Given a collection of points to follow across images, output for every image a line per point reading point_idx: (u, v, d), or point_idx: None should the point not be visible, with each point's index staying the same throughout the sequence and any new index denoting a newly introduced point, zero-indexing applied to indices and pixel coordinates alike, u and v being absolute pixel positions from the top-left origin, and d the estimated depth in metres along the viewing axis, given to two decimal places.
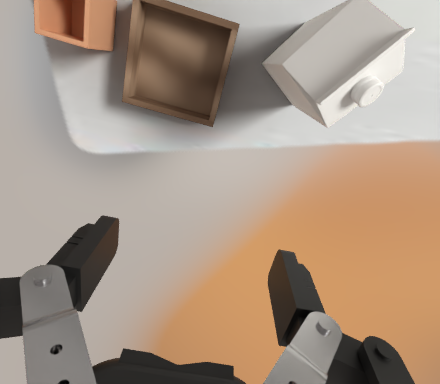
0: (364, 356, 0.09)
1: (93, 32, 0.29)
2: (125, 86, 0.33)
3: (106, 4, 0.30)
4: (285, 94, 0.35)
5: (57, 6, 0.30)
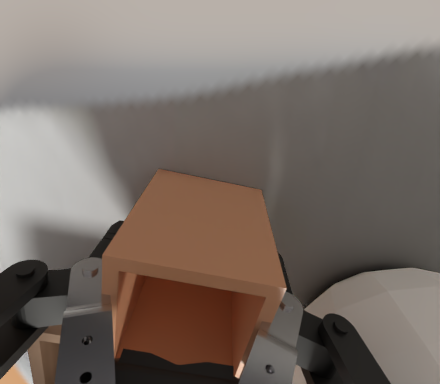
0: (325, 334, 0.09)
1: None
2: None
3: None
4: None
5: None
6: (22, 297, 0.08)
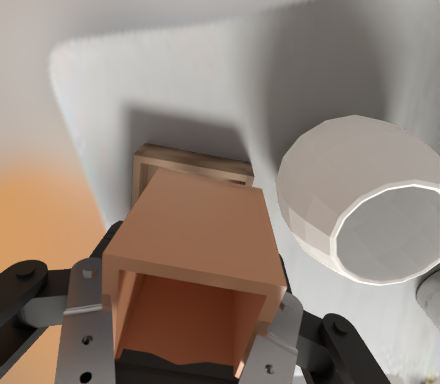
0: (324, 334, 0.09)
1: None
2: (153, 160, 0.26)
3: None
4: None
5: None
6: (23, 297, 0.08)
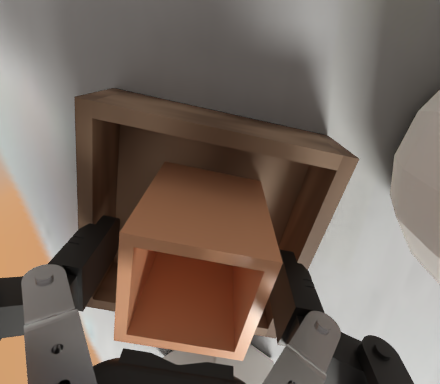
0: (363, 355, 0.09)
1: None
2: (122, 113, 0.11)
3: None
4: (174, 363, 0.22)
5: None
6: None
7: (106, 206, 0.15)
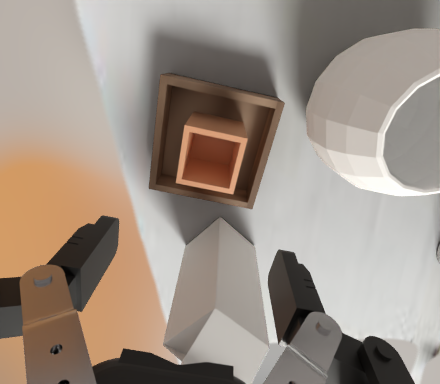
0: (364, 356, 0.09)
1: None
2: (180, 81, 0.25)
3: None
4: (193, 243, 0.36)
5: None
6: None
7: (164, 133, 0.29)
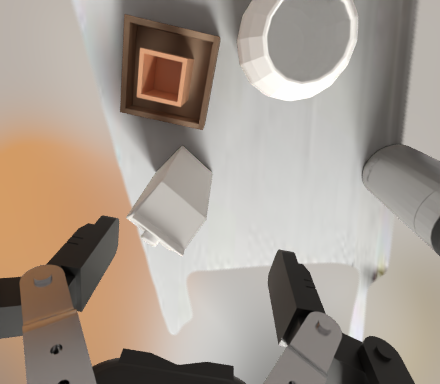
0: (364, 356, 0.09)
1: None
2: (139, 19, 0.33)
3: None
4: (161, 167, 0.44)
5: None
6: None
7: (131, 67, 0.37)
